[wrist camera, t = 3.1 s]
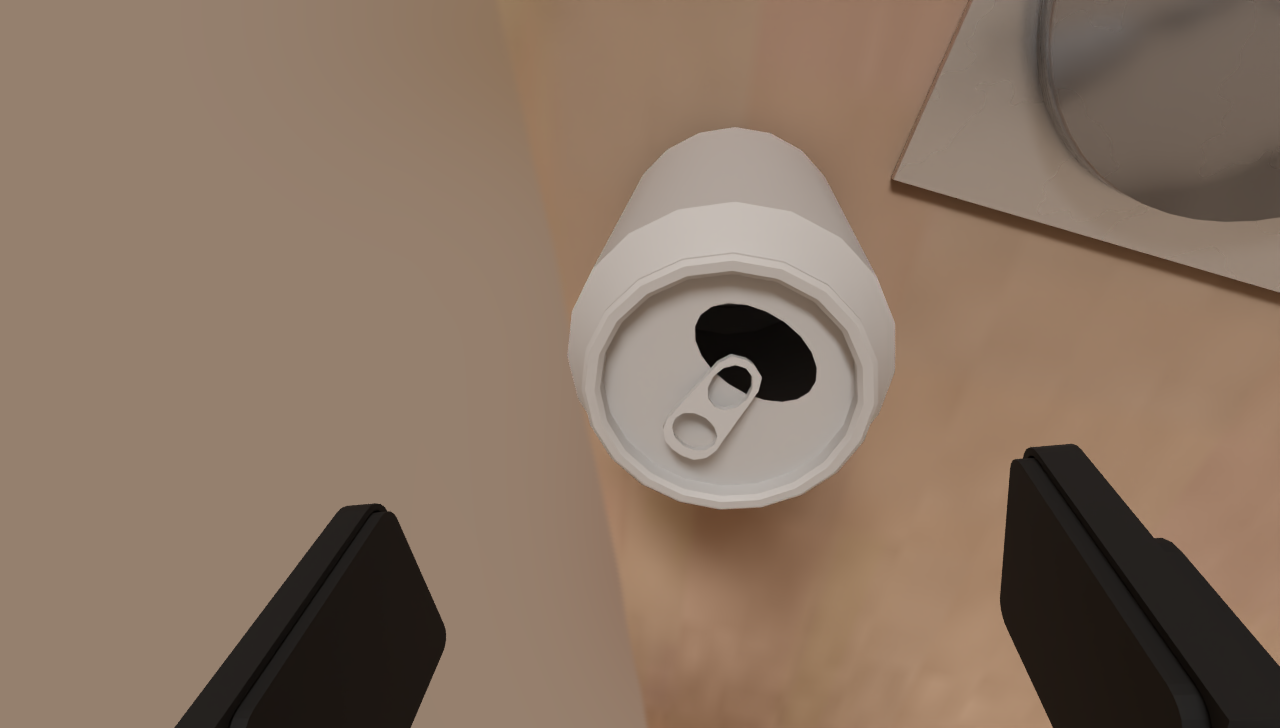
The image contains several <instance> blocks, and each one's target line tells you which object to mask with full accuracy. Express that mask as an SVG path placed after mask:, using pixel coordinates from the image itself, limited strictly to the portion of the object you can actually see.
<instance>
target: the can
mask: <svg viewBox="0 0 1280 728" xmlns="http://www.w3.org/2000/svg"><path fill="white" fill-rule="evenodd" d="M568 360H569V364H570V368H571V372H572V376H573V380H574V385H575V389H576V393H577V397H578V399H579V401H580V403H581V404H582V406H583V407H584V409H585V410H586V412H587V414H588V418H589V422H590V426H591V427H592V429H593V430H594V432H595V433H596V435H597V437H598V438H599V440H600V441H601V443H602V444H603V446H604V448H605V449H606V451H607V452H608V454H609V455H610V457H611V458H612V459H613V460H614V461H615V462H616V463H617V464H619V465H620V466H621V467H622V468H623V469H624V470H626V471H627V472H628V473H629V474H630V475H631V476H633V477H634V478H635V479H636V480H637V481H638V482H640V483H641V484H642V485H644V486H646V487H648V488H651V489H653V490H655V491H657V492H659V493H661V494H663V495H665V496H668V497H670V498H672V499H674V500H676V501H678V502H682V503H688V504H693V505H698V506H703V507H708V508H713V509H719V510H725V509H744V508H762V507H766V506H769V505H772V504H775V503H778V502H782V501H785V500H788V499H791V498H794V497H797V496H801V495H803V494H805V493H806V492H808V491H809V490H811V489H812V488H814V487H816V486H817V485H819V484H820V483H822V482H823V481H825V480H826V479H828V478H830V477H831V476H833V475H834V474H836V473H837V472H838V471H839V470H840V469H841V468H842V466H843V465H844V464H845V463H846V462H847V460H848V459H849V458H850V457H851V456H852V454H853V453H854V452H855V451H856V450H857V449H858V447H859V446H860V445H861V444H862V443H863V441H864V439H865V437H866V434H867V431H868V429H869V426H870V424H871V423H872V421H873V420H874V419H875V418H876V417H877V415H878V414H879V412H880V409H881V407H882V404H883V401H884V399H885V396H886V393H887V391H888V388H889V385H890V383H891V380H892V377H893V375H894V372H895V322H894V320H893V317H892V315H891V312H890V309H889V307H888V304H887V302H886V299H885V297H884V294H883V292H882V289H881V286H880V284H879V281H878V279H877V276H876V275H875V273H874V271H873V269H872V267H871V265H870V263H869V261H868V259H867V257H866V255H865V253H864V251H863V250H862V248H861V246H860V244H859V242H858V240H857V238H856V236H855V234H854V232H853V230H852V228H851V226H850V224H849V223H848V221H847V219H846V217H845V215H844V213H843V211H842V209H841V207H840V205H839V203H838V201H837V199H836V198H835V196H834V194H833V192H832V190H831V188H830V186H829V184H828V182H827V180H826V178H825V176H824V175H823V174H822V173H821V172H820V171H819V170H818V168H817V167H816V166H815V165H814V164H813V163H812V162H811V160H810V159H809V158H808V157H807V156H806V155H805V154H804V153H803V151H802V150H800V149H798V148H796V147H795V146H793V145H791V144H789V143H787V142H785V141H784V140H782V139H780V138H778V137H776V136H775V135H773V134H771V133H766V132H760V131H754V130H748V129H743V128H737V127H733V128H727V129H720V130H714V131H708V132H702V133H698V134H696V135H694V136H692V137H690V138H688V139H686V140H684V141H683V142H681V143H679V144H677V145H675V146H673V147H671V148H669V149H667V150H666V151H665V152H664V153H663V154H662V155H661V157H660V158H659V159H658V160H657V161H656V162H655V163H654V164H653V165H652V166H651V167H650V168H649V169H648V170H647V171H646V172H645V173H644V174H643V176H642V178H641V179H640V181H639V183H638V185H637V187H636V189H635V191H634V193H633V194H632V196H631V198H630V200H629V202H628V204H627V206H626V208H625V209H624V211H623V213H622V215H621V217H620V219H619V221H618V223H617V224H616V226H615V228H614V230H613V232H612V234H611V236H610V238H609V239H608V241H607V243H606V245H605V247H604V249H603V251H602V253H601V254H600V256H599V258H598V260H597V262H596V264H595V266H594V268H593V269H592V271H591V274H590V276H589V278H588V280H587V282H586V284H585V286H584V288H583V290H582V292H581V294H580V296H579V298H578V300H577V302H576V304H575V307H574V309H573V311H572V317H571V326H570V336H569V346H568Z"/></svg>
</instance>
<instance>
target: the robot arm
mask: <svg viewBox="0 0 1280 728" xmlns="http://www.w3.org/2000/svg"><path fill="white" fill-rule="evenodd" d="M1000 605H1001V611H1002V616H1003V619H1004V622H1005V625H1006V627H1007V630H1008V632H1009V634H1010V636H1011V638H1012V640H1013V642H1014V645H1015V647H1016V649H1017V651H1018V653H1019V655H1020V657H1021V660H1022V662H1023V664H1024V666H1025V668H1026V670H1027V673H1028V675H1029V677H1030V679H1031V681H1032V683H1033V685H1034V688H1035V690H1036V692H1037V694H1038V696H1039V698H1040V700H1041V703H1042V705H1043V707H1044V709H1045V711H1046V713H1047V716H1048V718H1049V720H1050V722H1051V724H1052V726H1053V728H1280V666H1279V665H1278V664H1277V663H1276V662H1275V661H1274V659H1273V658H1272V657H1271V656H1270V655H1269V654H1268V652H1267V651H1266V650H1265V649H1264V648H1263V646H1262V645H1261V644H1260V643H1259V642H1258V641H1257V639H1256V638H1255V637H1254V636H1253V635H1252V634H1251V632H1250V631H1249V630H1248V629H1247V628H1246V627H1245V625H1244V624H1243V623H1242V622H1241V621H1240V619H1239V618H1238V617H1237V616H1236V615H1235V614H1234V612H1233V611H1232V610H1231V609H1230V608H1229V607H1228V605H1227V604H1226V603H1225V602H1224V601H1223V600H1222V598H1221V597H1220V596H1219V595H1218V594H1217V592H1216V591H1215V590H1214V589H1213V588H1212V587H1211V585H1210V584H1209V583H1208V582H1207V581H1206V580H1205V578H1204V577H1203V576H1202V575H1201V574H1200V573H1199V571H1198V570H1197V569H1196V568H1195V567H1194V565H1193V564H1192V563H1191V562H1190V561H1189V560H1188V558H1187V557H1186V556H1185V555H1184V554H1183V553H1182V551H1180V550H1179V549H1178V548H1177V547H1176V546H1175V545H1174V544H1173V543H1172V542H1170V541H1168V540H1166V539H1163V538H1153V536H1152V535H1151V534H1150V533H1149V531H1148V530H1147V529H1146V528H1145V527H1144V525H1143V524H1142V523H1141V522H1140V520H1139V519H1138V518H1137V517H1136V516H1135V514H1134V513H1133V512H1132V511H1131V510H1130V508H1129V507H1128V506H1127V505H1126V503H1125V502H1124V501H1123V500H1122V499H1121V497H1120V496H1119V495H1118V494H1117V492H1116V491H1115V490H1114V489H1113V488H1112V486H1111V485H1110V484H1109V483H1108V482H1107V480H1106V479H1105V478H1104V477H1103V475H1102V474H1101V473H1100V472H1099V471H1098V469H1097V468H1096V467H1095V466H1094V464H1093V463H1092V462H1091V461H1090V460H1089V458H1088V457H1087V456H1086V455H1085V454H1084V452H1083V451H1082V450H1081V449H1080V448H1079V447H1078V446H1077V445H1074V444H1065V445H1053V446H1042V447H1030V448H1028V449H1026V451H1025V453H1024V457H1023V459H1015V460H1013V461H1012V463H1011V467H1010V478H1009V491H1008V503H1007V516H1006V529H1005V542H1004V554H1003V567H1002V580H1001V593H1000ZM445 642H446V630H445V626H444V624H443V621H442V619H441V617H440V614H439V612H438V610H437V608H436V605H435V603H434V601H433V599H432V596H431V594H430V592H429V590H428V587H427V585H426V583H425V581H424V579H423V576H422V574H421V572H420V569H419V567H418V565H417V563H416V560H415V558H414V556H413V554H412V551H411V549H410V547H409V545H408V542H407V540H406V538H405V536H404V533H403V531H402V529H401V526H400V524H399V522H398V520H397V518H396V516H395V515H394V514H393V513H392V512H387V510H386V509H385V507H384V506H382V505H381V504H364V505H352V506H346V507H343V508H341V509H340V510H339V511H338V512H337V513H336V515H335V516H334V517H333V519H332V520H331V521H330V523H329V524H328V525H327V526H326V528H325V529H324V531H323V532H322V533H321V535H320V536H319V537H318V539H317V540H316V541H315V542H314V544H313V545H312V546H311V548H310V549H309V550H308V552H307V553H306V554H305V556H304V557H303V558H302V560H301V561H300V562H299V564H298V565H297V566H296V568H295V569H294V570H293V572H292V573H291V574H290V575H289V577H288V578H287V580H286V581H285V582H284V584H283V585H282V586H281V588H280V589H279V590H278V591H277V593H276V594H275V595H274V597H273V598H272V599H271V601H270V602H269V603H268V605H267V606H266V607H265V609H264V610H263V611H262V613H261V614H260V615H259V617H258V618H257V619H256V620H255V622H254V623H253V624H252V626H251V627H250V628H249V630H248V631H247V633H246V634H245V635H244V636H243V638H242V639H241V640H240V642H239V643H238V644H237V646H236V647H235V648H234V650H233V651H232V652H231V654H230V655H229V656H228V658H227V659H226V660H225V661H224V663H223V664H222V665H221V667H220V668H219V670H218V671H217V672H216V674H215V675H214V676H213V677H212V679H211V680H210V681H209V683H208V684H207V685H206V687H205V688H204V690H203V691H202V692H201V693H200V695H199V696H198V697H197V699H196V700H195V701H194V702H193V704H192V705H191V706H190V708H189V709H188V710H187V712H186V713H185V714H184V716H183V717H182V718H181V720H180V721H179V722H178V724H177V725H176V726H175V728H411V725H412V723H413V721H414V718H415V716H416V714H417V711H418V709H419V707H420V704H421V702H422V699H423V697H424V695H425V692H426V690H427V688H428V686H429V683H430V681H431V679H432V676H433V674H434V672H435V669H436V667H437V665H438V662H439V660H440V658H441V655H442V653H443V650H444V647H445Z"/></svg>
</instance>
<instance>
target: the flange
mask: <svg viewBox="0 0 1280 728" xmlns="http://www.w3.org/2000/svg"><path fill="white" fill-rule="evenodd" d="M891 177H892V179H893V180H896V181H900V182H903V183H907V184H910V185H913V186H917V187H920V188H924V189H927V190H930V191H934V192H937V193H941V194H944V195H948V196H951V197H954V198H958V199H961V200H965V201H968V202H972V203H975V204H978V205H982V206H985V207H989V208H992V209H995V210H999V211H1002V212H1006V213H1009V214H1013V215H1016V216H1019V217H1023V218H1026V219H1030V220H1033V221H1037V222H1040V223H1043V224H1047V225H1050V226H1054V227H1057V228H1060V229H1064V230H1067V231H1071V232H1074V233H1078V234H1081V235H1084V236H1088V237H1091V238H1095V239H1098V240H1102V241H1105V242H1108V243H1112V244H1115V245H1119V246H1122V247H1126V248H1129V249H1132V250H1136V251H1139V252H1143V253H1146V254H1149V255H1153V256H1156V257H1160V258H1163V259H1167V260H1170V261H1173V262H1177V263H1180V264H1184V265H1187V266H1191V267H1194V268H1197V269H1201V270H1204V271H1208V272H1211V273H1214V274H1218V275H1221V276H1225V277H1228V278H1232V279H1235V280H1238V281H1242V282H1245V283H1249V284H1252V285H1256V286H1259V287H1262V288H1266V289H1269V290H1273V291H1276V292H1280V0H969V1H968V4H967V6H966V8H965V10H964V13H963V15H962V17H961V19H960V22H959V24H958V26H957V29H956V31H955V33H954V35H953V38H952V40H951V42H950V44H949V47H948V49H947V51H946V54H945V56H944V58H943V60H942V63H941V65H940V67H939V69H938V72H937V74H936V76H935V78H934V81H933V83H932V85H931V88H930V90H929V92H928V94H927V97H926V99H925V101H924V103H923V106H922V108H921V110H920V113H919V115H918V117H917V119H916V122H915V124H914V126H913V128H912V131H911V133H910V135H909V138H908V140H907V142H906V144H905V147H904V149H903V151H902V153H901V156H900V158H899V160H898V163H897V165H896V167H895V169H894V172H893V174H892V176H891Z"/></svg>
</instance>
